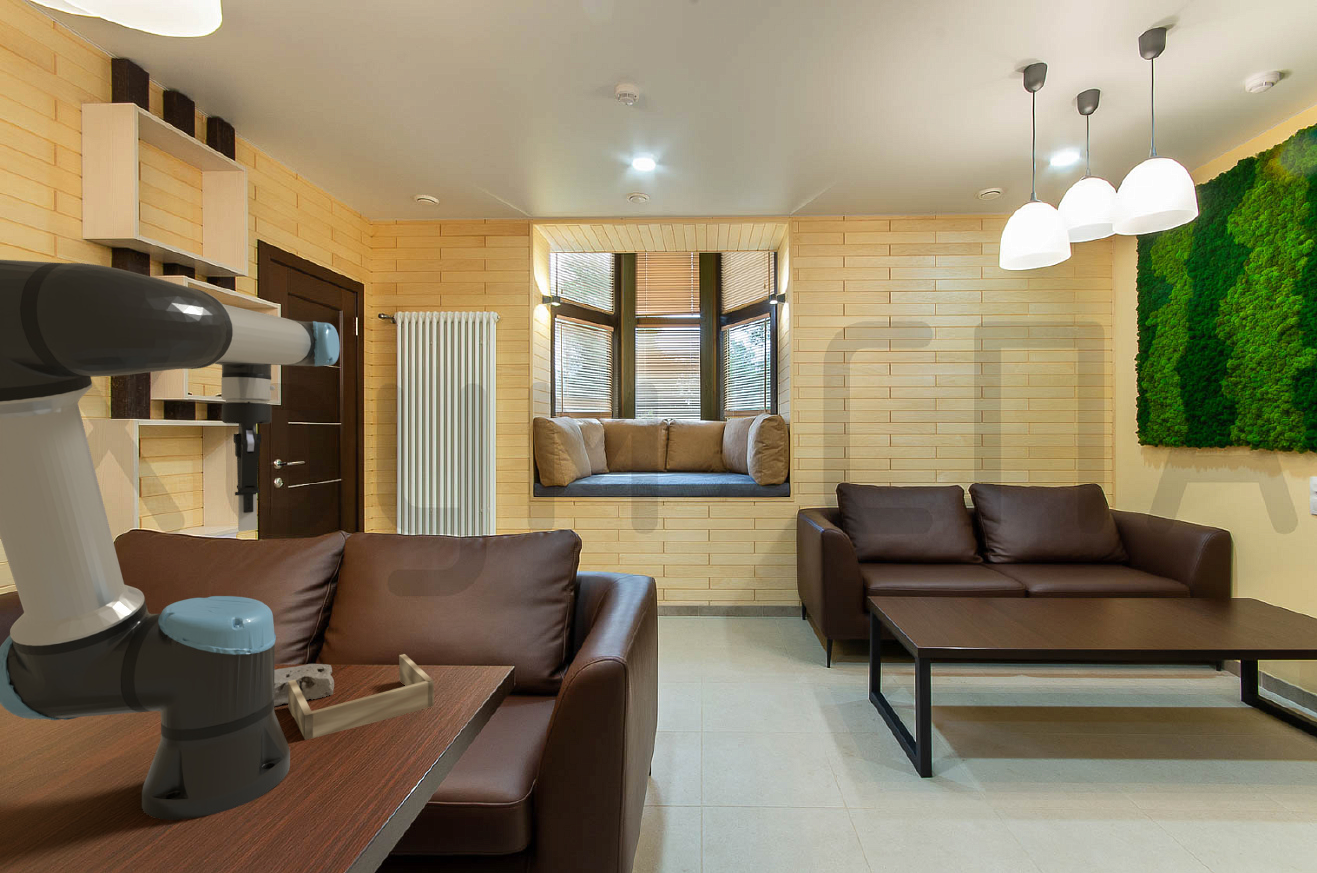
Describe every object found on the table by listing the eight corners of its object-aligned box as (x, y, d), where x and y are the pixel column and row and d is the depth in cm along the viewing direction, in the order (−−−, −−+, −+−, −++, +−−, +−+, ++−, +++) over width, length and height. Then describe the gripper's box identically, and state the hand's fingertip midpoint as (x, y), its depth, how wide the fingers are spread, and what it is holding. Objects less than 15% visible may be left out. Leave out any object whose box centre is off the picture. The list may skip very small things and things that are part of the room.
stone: (346, 692, 105) (329, 678, 112) (342, 661, 105) (325, 649, 112) (260, 725, 96) (247, 708, 103) (255, 691, 96) (243, 676, 103)
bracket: (434, 710, 99) (433, 681, 99) (305, 749, 87) (305, 715, 87) (404, 680, 111) (404, 654, 111) (288, 710, 99) (288, 681, 99)
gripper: (276, 401, 105) (276, 532, 105) (267, 404, 115) (267, 523, 115) (224, 399, 100) (224, 536, 100) (219, 403, 110) (220, 527, 110)
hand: (247, 529), depth 108 cm, fingers closed
